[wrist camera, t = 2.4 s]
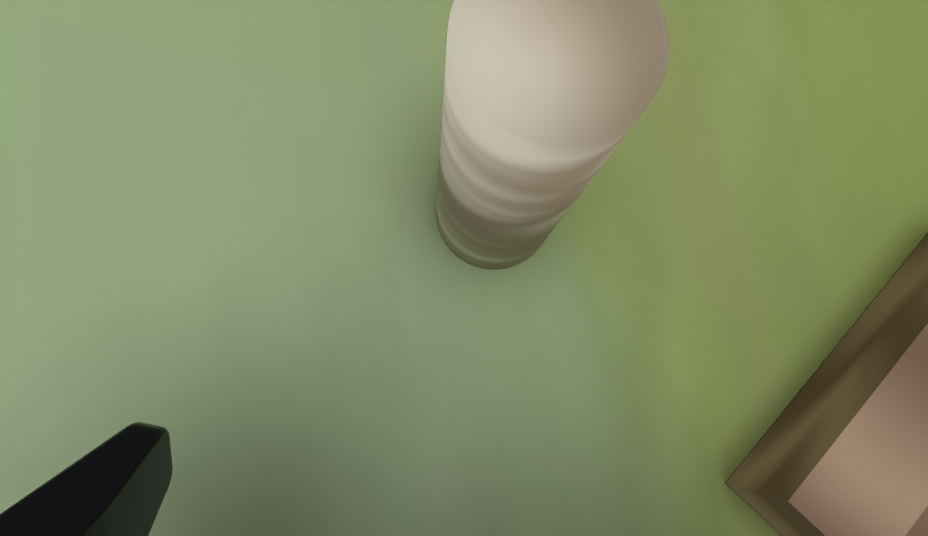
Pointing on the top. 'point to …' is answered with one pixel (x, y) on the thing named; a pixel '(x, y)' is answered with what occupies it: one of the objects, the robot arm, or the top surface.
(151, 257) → the top surface
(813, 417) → the brown rectangular frame
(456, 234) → the peg
